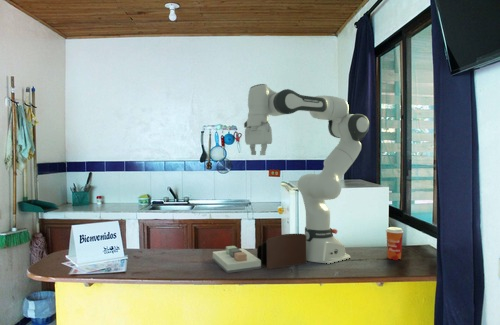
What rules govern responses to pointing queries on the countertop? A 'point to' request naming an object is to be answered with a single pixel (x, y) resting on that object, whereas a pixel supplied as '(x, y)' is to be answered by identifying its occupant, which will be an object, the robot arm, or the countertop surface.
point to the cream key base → (234, 266)
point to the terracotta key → (240, 256)
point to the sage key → (229, 249)
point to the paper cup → (394, 242)
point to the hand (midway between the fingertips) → (258, 155)
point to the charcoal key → (233, 251)
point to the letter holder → (283, 251)
